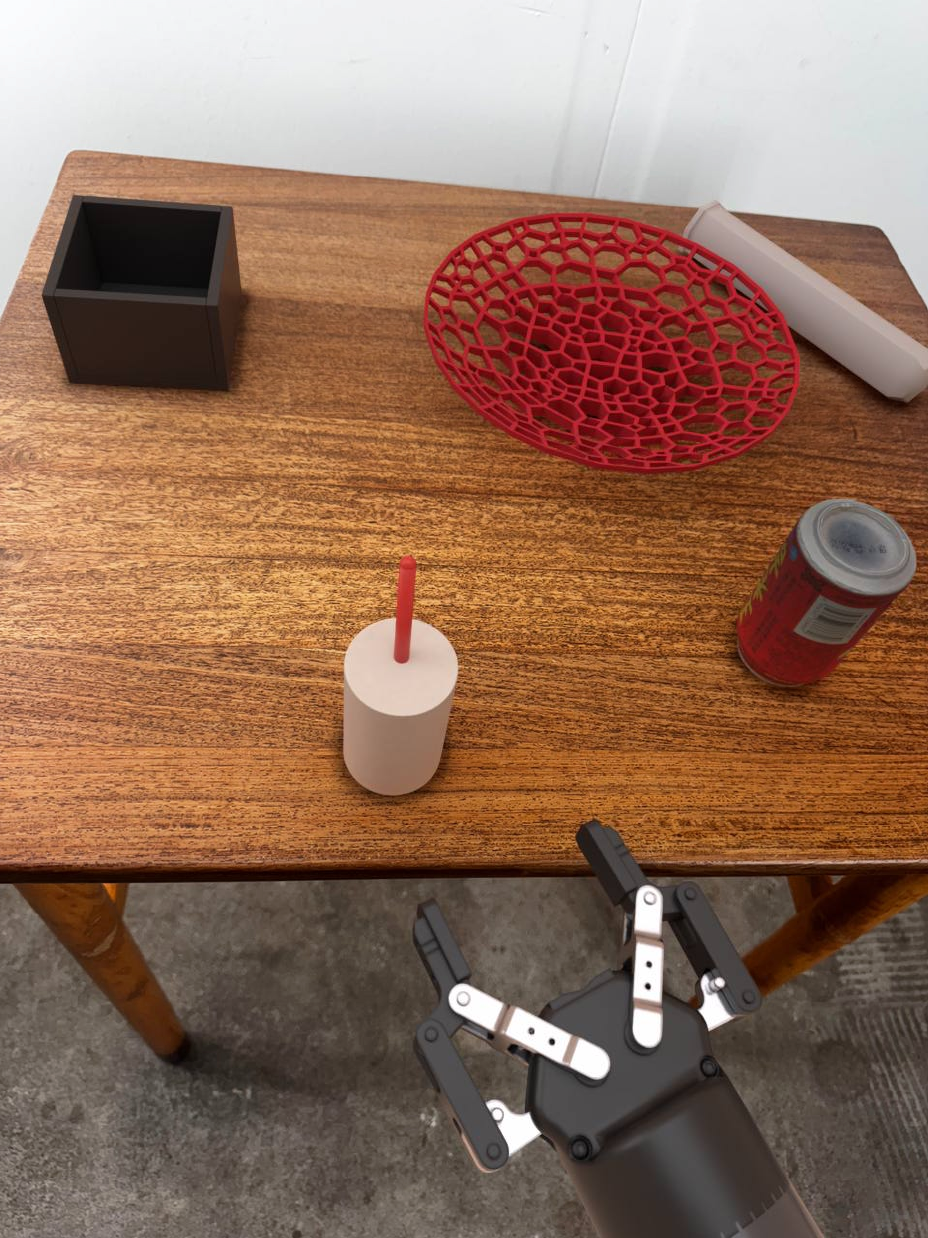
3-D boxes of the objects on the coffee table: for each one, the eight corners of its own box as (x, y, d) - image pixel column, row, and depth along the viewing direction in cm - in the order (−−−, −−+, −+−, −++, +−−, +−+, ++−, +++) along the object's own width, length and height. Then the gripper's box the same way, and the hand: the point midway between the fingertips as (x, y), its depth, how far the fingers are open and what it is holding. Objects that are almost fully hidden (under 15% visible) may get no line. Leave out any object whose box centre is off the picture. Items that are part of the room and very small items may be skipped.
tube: (959, 355, 76) (729, 199, 84) (938, 363, 72) (700, 199, 81) (915, 409, 79) (699, 253, 88) (893, 418, 76) (670, 255, 84)
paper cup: (342, 795, 53) (342, 649, 40) (344, 706, 56) (345, 542, 43) (442, 795, 54) (476, 651, 40) (439, 707, 57) (469, 546, 44)
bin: (69, 383, 68) (40, 294, 62) (95, 283, 75) (72, 194, 68) (228, 391, 70) (217, 305, 63) (241, 292, 76) (232, 205, 70)
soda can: (841, 698, 61) (941, 590, 50) (737, 694, 60) (817, 583, 50) (816, 609, 64) (904, 492, 54) (718, 604, 64) (789, 485, 54)
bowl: (788, 546, 67) (817, 501, 63) (390, 478, 67) (394, 428, 63) (763, 295, 84) (786, 246, 80) (444, 238, 83) (450, 186, 79)
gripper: (894, 1133, 35) (653, 770, 42) (575, 1364, 30) (366, 909, 37) (810, 1148, 41) (614, 830, 48) (535, 1341, 36) (363, 955, 43)
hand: (506, 865), depth 43 cm, fingers open, 8 cm apart
